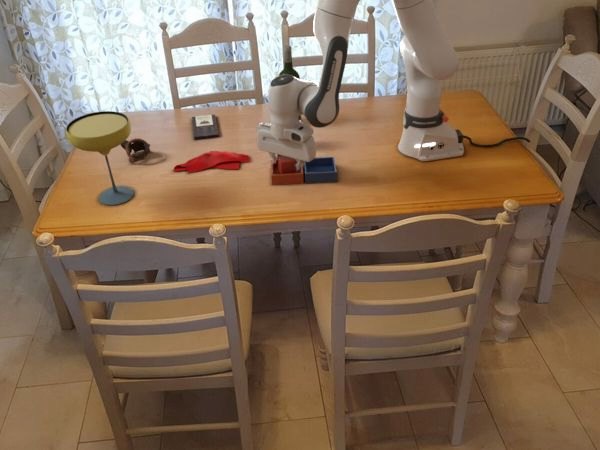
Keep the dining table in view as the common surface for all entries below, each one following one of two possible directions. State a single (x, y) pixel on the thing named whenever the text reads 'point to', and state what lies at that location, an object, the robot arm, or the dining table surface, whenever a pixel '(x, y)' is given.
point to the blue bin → (320, 170)
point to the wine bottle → (289, 65)
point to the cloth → (213, 161)
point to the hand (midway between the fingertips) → (286, 166)
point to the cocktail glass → (102, 144)
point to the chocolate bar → (205, 127)
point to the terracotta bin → (285, 176)
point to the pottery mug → (136, 149)
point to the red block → (286, 165)
